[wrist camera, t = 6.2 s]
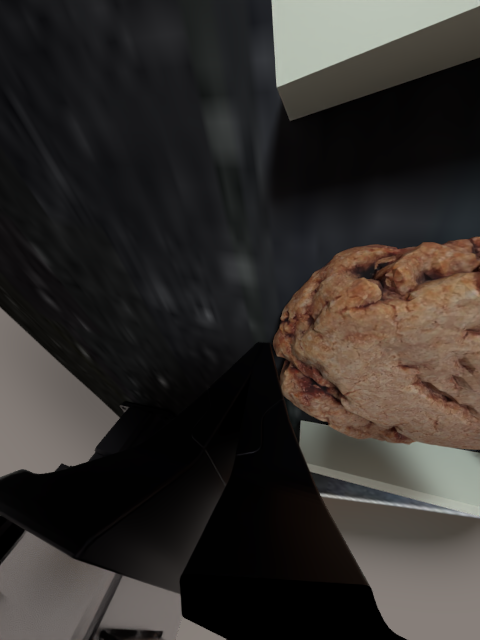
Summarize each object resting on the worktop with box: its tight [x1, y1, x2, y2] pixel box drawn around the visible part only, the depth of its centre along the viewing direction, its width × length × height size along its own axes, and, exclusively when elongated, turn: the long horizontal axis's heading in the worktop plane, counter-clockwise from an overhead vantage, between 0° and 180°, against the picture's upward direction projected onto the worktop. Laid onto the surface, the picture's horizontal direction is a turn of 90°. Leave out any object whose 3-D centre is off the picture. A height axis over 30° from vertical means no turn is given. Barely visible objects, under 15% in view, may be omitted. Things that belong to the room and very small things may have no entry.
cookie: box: [273, 237, 480, 450], centre depth 7 cm, size 10×11×3 cm
